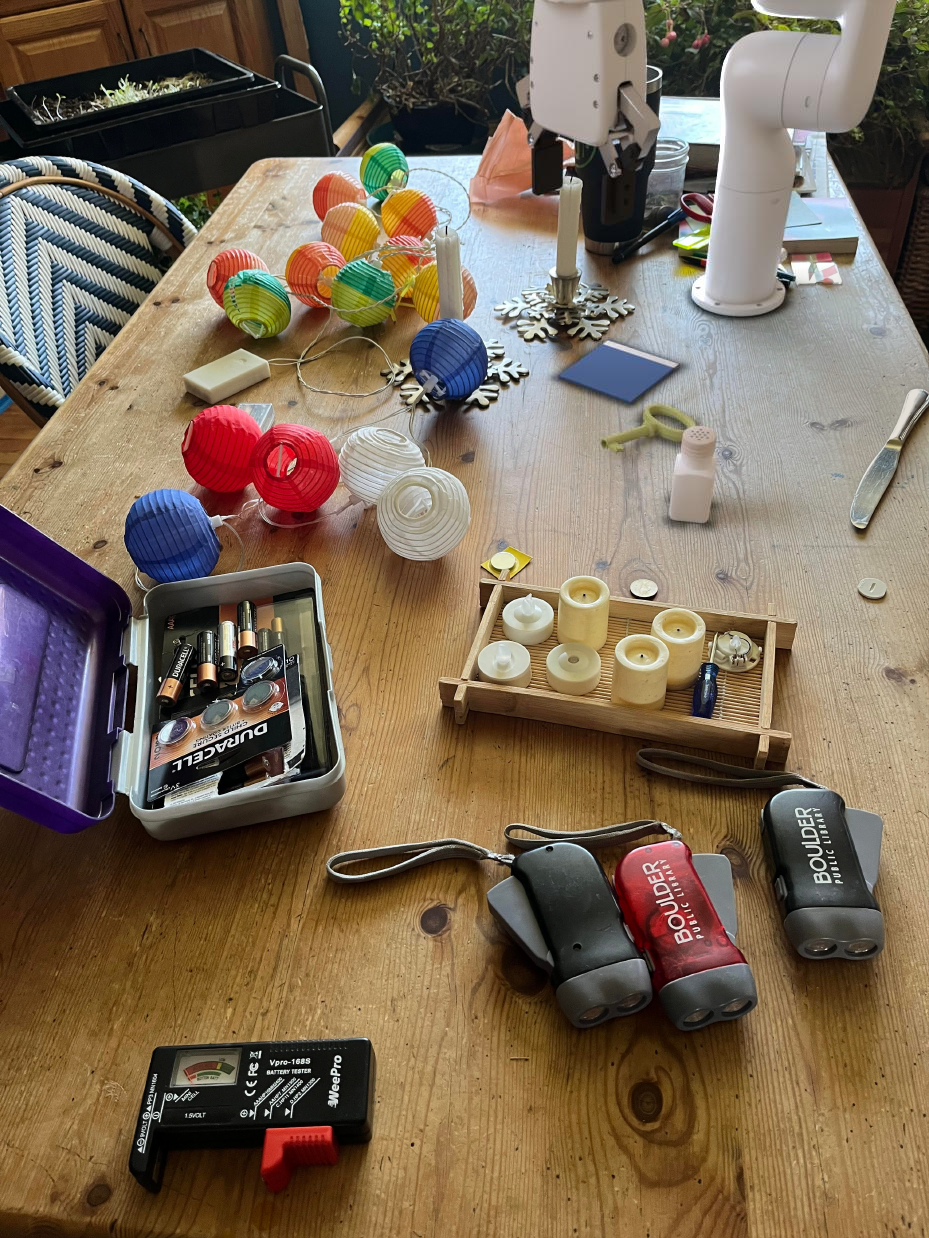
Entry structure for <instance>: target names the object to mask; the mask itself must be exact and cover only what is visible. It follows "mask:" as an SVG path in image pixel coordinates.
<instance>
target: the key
mask: <svg viewBox="0 0 929 1238" xmlns="http://www.w3.org/2000/svg"><path fill="white" fill-rule="evenodd" d="M654 415H663V416H667V417H671V418H673V419H676V420H677V421H679V422H680V423H682V424H683V425H684V426H685V427H686V429H688V428H690V427H692V426H697V423H696V422H695V421H694V420H693V418H692V417H690V416H689V415H687V414H686V413H684V412H682V411H681V410H679V409H677V408H674V407H672V406H669V405H666V404H662V403H651V404H649V405H647V406H645V408H644V410H643V413H642V421H643V422H642V425H641V426H638V427H635V428H632V429H629V430H625V431H622V432H619V433H616V434H613V435H610V436H608V437H605V438H601V440H600V446H601V448H602V449H603V450H610V451H611V452H612V453H614V454H615V455H617V454H618V453H622V452H624V451H625V447H624V446H622V445H623V444H626V443H628V442H631V441H635V440H637V439H641V438H643V437H645V438H647V439H651V438H653V436H654V435H655V434H657V435H658V436H660V437H662V438H663V439H666V440H668V441H669V440H670V441H672V442H679V443H682V436H683V433H684V431H685V430H686V429H683V430H682V429H676V428H673V427H670V426H668V425H665V424H664V423H662V422H660V421H659V420H658V419H656V418H655V417H654Z"/></svg>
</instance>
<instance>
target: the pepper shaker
mask: <svg viewBox="0 0 929 1238" xmlns="http://www.w3.org/2000/svg"><path fill="white" fill-rule="evenodd" d="M684 430H685V431H684V433H683V436H682V442H681V446H680V452H679V453H678V454H676V456H675V461H674V468H673V473H672V474H673V475H672V482H671V492H670V499H669V509H668V515H669V517H670V519H671V520H673V521H677V522H685V523H687V522H688V523H695V524H705V523H706V522H708V520H709V517H710V512H711V507H712V498H713V492H714V486H715V479H716V473H717V465H718V457H717V456H715V452H716V446H717V440H718V435H717V432H716V431H715V430H714V429H712V428H711V427H709V426H705V425H696V426H692V427H690V428H686V429H684Z"/></svg>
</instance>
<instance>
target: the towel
mask: <svg viewBox="0 0 929 1238" xmlns="http://www.w3.org/2000/svg"><path fill="white" fill-rule="evenodd" d="M680 365H681V363H680V362H677V361H674V360H671V359H669V358H665V357H662V356H659V355H657V354H653V353H650V352H647V351H643V350H641V349H638V348H635V347H632V346H629V345H625V344H623V343H619V342H617V341H614V340H610V339H607V340H606V341H604V342H603V343H602V344H601V345H599V346H598V347H596V348H594V349H593V350H592V351H590V353H588V354H586V355H585V356H584V357H582V358H580V359H579V360H578V361H576V362H575V363H573V364H572V365H571V366H569V367H568V368H566V369H565V370H563V371H562V372H561V373H560V374H558V377H557V378H558V379H560V380H562V381H566V382H568V383H571V384H573V385H577V386H580V387H582V388H585V389H587V390H590V391H592V392H595V393H599V394H601V395H603V396H606V397H609V398H612V399H614V400H617V401H620V402H623V403H625V404H628V405H632V404H633V403H634V402H635V401H637V400H638V399H639V398H641V397H642V396H643V395H645V394H646V393H647V392H648V391H650V390H651V389H652V388H654V387H655V386H656V385H657V384H659V383H660V382H661V381H662V380H664V379H665V378H666V377H668V376H669V375H670V374H671V373H672V372H674V371H675V370H677V369H678V368H679V367H680Z"/></svg>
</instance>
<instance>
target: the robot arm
mask: <svg viewBox="0 0 929 1238" xmlns="http://www.w3.org/2000/svg"><path fill="white" fill-rule="evenodd" d="M750 2H751V4H752V6H753V8H754V9H755V10H756V11H758V12H759V13H762V14H764V15H767V16H768V15H769V16H773V17H781V18H794V19H795V18H796V19H811V20H827V21H837V22H838V24H839V26H840V29H841V31H840V33H841V34H834V33H833V34H830V33H818V32H817V33H816V32H811V31H810V32H808V31H795V30H794V31H793V30H776V29H775V30H773V29H771V30H759V31H755V32H751V33H749V34H747V35H744V36H742V37H741V38H740V39H738V40H737V41H736V42H735V43H733V45H732V46H731V48H730V49H729V50H728V53H727V54H726V57H725V59H724V61H723V65H722V68H721V75H720V89H719V91H720V92H719V93H720V111H721V112H720V114H721V117H720V118H721V136H720V149H719V159H718V167H717V176H716V183H715V192H714V200H713V207H712V215H711V216H712V217H711V225H710V232H709V241H708V247H707V248H708V249H707V256H706V257H707V258H706V265H705V272H704V275H702V276H700V277H698V279H697V280H695V282H694V283H693V284H692V288H691V298H692V300H693V302H694V303H695V304H696V305H698V306H699V307H700V308H701V309H704V310H705V311H708V312H710V313H714V314H716V315H721V316H729V317H752V316H759V315H763V314H766V313H769V312H772V311H774V310H775V309H776V308H778V307H780V306H781V305H782V304H783V302H784V300H785V296H786V287H785V285H784V284H783V282H781V280H779V279H778V278H777V275H778V271H779V266H780V265H781V263H783V262H784V261H786V259H787V258H788V251H787V249H785V248H784V247H783V242H784V239H785V232H786V227H787V221H788V216H789V209H790V204H791V198H792V193H793V188H794V182H795V178H796V172H797V156H796V155H797V154H796V150H795V146H794V143H793V141H792V138H791V135H790V133H789V131H788V129H790V130H798V131H799V130H800V131H809V132H817V133H818V132H819V133H829V134H842V133H847V132H849V131H851V130H852V131H853V130H854V129H855V128H856V127H858V126H859V125H860V124H861V123H862V121H863V120H864V118H865V117H866V115H867V113H868V111H869V108H870V106H871V103H872V101H873V97H874V94H875V91H876V87H877V84H878V81H879V76H880V72H881V68H882V64H883V61H884V55H885V52H886V48H887V43H888V39H889V36H890V31H891V27H892V22H893V19H894V15H895V11H896V6H897V2H898V0H750ZM645 19H646V18H645V8H644V2H643V0H534V4H533V13H532V20H531V21H532V22H531V34H530V53H529V73H528V74H526V75H525V76H524V77H523V78H521V79H520V80H519V81H517V82H516V83H515V84H516V85H515V91H516V95H517V99H518V101H519V107H520V109H521V112H520V117H521V121H522V122H523V124H524V126H525V128H526V131H527V134H526V143H527V145H528V146H529V147H531V148H530V150H531V151H530V152H531V153H530V155H531V158H530V160H531V162H530V163H531V193H532V195H535V196H537V197H539V196H542V195H545V194H548V193H551V192H554V191H557V190H560V189H561V188H563V186H564V140H562V139H558V138H559V137H560V136H563V137H566V138H568V139H571V140H574V141H577V142H579V143H581V144H586V145H589V146H592V147H597V148H598V150H599V152H600V155H601V159H602V160H603V163H604V164H605V168H606V170H607V173H606V174H603V175H602V179H601V197H600V198H601V200H600V201H601V203H600V223H601V225H603V226H606V227H610V226H611V225H612V226H613V225H615V224H617V223H620V222H623V221H626V220H629V219H631V218H632V217H633V216H634V212H635V197H636V181H637V171H639V170H641V169H642V168H643V165H644V162H645V160H646V159H647V158H648V157H649V156H650V155H651V154H652V152H653V145H654V143H655V141H656V139H657V137H658V135H659V132H660V130H661V127H662V123H661V120H660V118H659V117H658V116H657V114H656V113H655V112H654V110H652V108H651V107H650V106H649V104H648V103H647V79H648V78H647V75H648V74H647V72H648V71H647V70H648V68H647V65H648V61H647V59H648V58H647V33H646V32H647V31H646V20H645ZM609 131H611V132H609ZM617 144H620V147H621V149H622V151H621V153H619V155H618V152H617V149H616V147H615V145H617Z"/></svg>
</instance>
